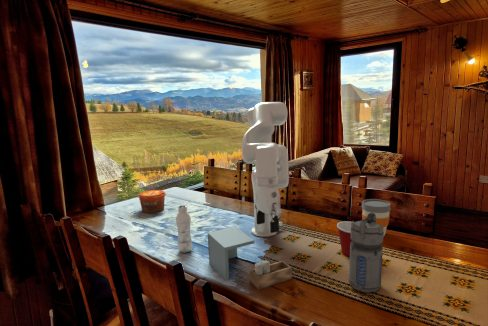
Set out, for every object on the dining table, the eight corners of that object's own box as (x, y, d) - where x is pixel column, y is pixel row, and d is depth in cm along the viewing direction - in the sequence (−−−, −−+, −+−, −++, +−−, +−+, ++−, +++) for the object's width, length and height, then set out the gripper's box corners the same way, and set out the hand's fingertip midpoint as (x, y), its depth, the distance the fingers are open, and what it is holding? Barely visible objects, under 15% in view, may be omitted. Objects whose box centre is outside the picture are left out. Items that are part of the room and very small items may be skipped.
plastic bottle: (178, 255, 140) (175, 210, 136) (177, 248, 146) (174, 205, 142) (193, 253, 141) (191, 208, 138) (191, 246, 148) (189, 203, 144)
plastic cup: (357, 262, 130) (358, 233, 127) (331, 254, 137) (332, 226, 134) (367, 252, 138) (369, 224, 135) (343, 245, 145) (343, 219, 142)
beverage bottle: (385, 280, 116) (389, 212, 111) (375, 299, 105) (379, 224, 101) (356, 272, 122) (358, 207, 117) (344, 289, 111) (346, 218, 107)
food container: (139, 207, 206) (137, 191, 204) (165, 204, 211) (164, 188, 209) (139, 215, 191) (137, 197, 189) (167, 212, 196) (166, 194, 194)
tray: (282, 271, 124) (282, 252, 123) (292, 278, 119) (292, 259, 118) (249, 281, 118) (249, 262, 116) (258, 289, 113) (257, 269, 111)
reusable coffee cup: (358, 236, 154) (359, 205, 151) (362, 226, 165) (363, 197, 162) (388, 240, 148) (389, 208, 145) (390, 230, 159) (392, 200, 156)
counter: (236, 255, 138) (234, 226, 136) (255, 271, 124) (254, 240, 122) (209, 262, 133) (207, 232, 131) (226, 280, 119) (224, 247, 117)
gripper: (289, 184, 110) (289, 233, 113) (263, 175, 125) (264, 218, 128) (270, 187, 107) (270, 237, 110) (245, 177, 122) (247, 222, 125)
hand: (267, 227), depth 119 cm, fingers open, 9 cm apart
